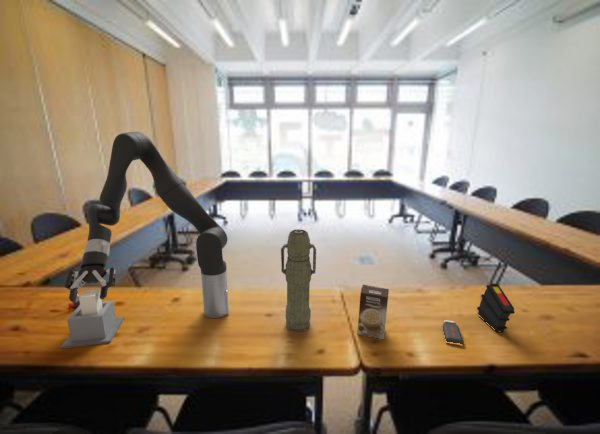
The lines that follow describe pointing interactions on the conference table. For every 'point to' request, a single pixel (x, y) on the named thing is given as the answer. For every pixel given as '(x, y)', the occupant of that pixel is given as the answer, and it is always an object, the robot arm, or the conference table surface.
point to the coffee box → (372, 311)
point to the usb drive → (452, 332)
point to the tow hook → (77, 302)
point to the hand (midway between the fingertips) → (87, 300)
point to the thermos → (298, 279)
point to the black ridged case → (495, 307)
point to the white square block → (90, 302)
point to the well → (92, 327)
